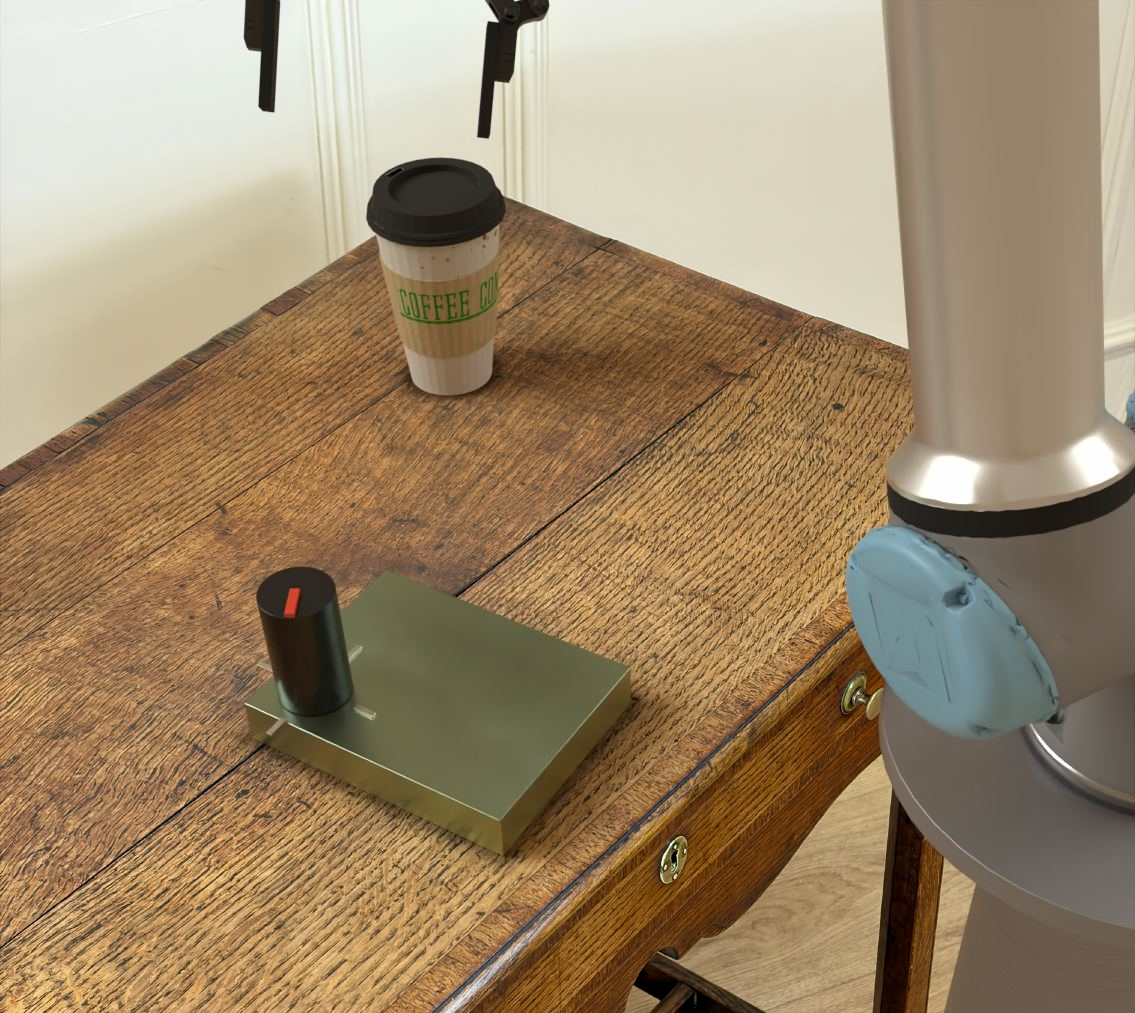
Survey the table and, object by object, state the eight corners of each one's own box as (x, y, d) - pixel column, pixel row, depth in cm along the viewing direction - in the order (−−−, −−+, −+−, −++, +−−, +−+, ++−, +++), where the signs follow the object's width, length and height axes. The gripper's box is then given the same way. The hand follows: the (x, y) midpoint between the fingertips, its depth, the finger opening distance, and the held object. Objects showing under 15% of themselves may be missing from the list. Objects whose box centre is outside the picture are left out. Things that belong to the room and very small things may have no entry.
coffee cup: (459, 424, 116) (441, 235, 105) (360, 381, 121) (333, 195, 110) (542, 363, 122) (533, 176, 111) (444, 324, 126) (426, 140, 115)
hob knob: (284, 663, 95) (261, 562, 89) (357, 663, 95) (339, 561, 89) (272, 715, 92) (248, 614, 86) (348, 716, 92) (329, 614, 86)
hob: (631, 703, 96) (631, 665, 94) (490, 872, 87) (486, 835, 85) (375, 598, 103) (369, 560, 101) (221, 744, 95) (210, 706, 92)
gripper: (603, -208, 99) (567, 152, 105) (197, -268, 97) (183, 105, 102) (616, -248, 92) (577, 141, 98) (178, -313, 89) (164, 90, 95)
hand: (375, 123), depth 100 cm, fingers open, 13 cm apart
